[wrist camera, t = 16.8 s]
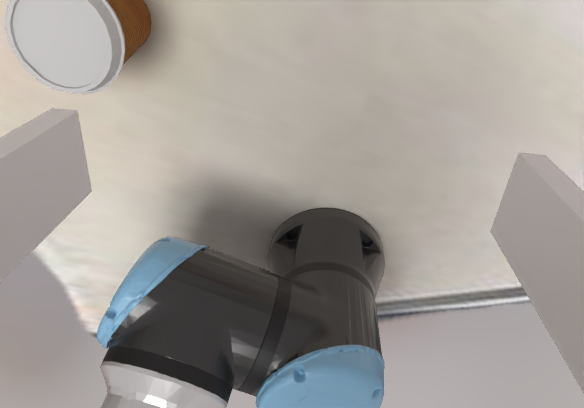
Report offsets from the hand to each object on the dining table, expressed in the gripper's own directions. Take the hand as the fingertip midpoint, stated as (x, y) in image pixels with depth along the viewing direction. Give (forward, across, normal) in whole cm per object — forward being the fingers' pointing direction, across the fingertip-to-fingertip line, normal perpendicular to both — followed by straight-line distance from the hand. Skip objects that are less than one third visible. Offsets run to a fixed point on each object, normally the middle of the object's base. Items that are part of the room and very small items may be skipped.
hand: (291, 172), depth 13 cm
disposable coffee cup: (+36, +20, +2) cm, 41 cm away
